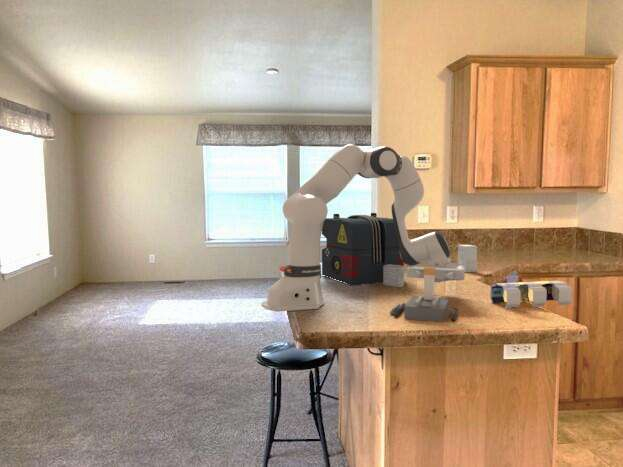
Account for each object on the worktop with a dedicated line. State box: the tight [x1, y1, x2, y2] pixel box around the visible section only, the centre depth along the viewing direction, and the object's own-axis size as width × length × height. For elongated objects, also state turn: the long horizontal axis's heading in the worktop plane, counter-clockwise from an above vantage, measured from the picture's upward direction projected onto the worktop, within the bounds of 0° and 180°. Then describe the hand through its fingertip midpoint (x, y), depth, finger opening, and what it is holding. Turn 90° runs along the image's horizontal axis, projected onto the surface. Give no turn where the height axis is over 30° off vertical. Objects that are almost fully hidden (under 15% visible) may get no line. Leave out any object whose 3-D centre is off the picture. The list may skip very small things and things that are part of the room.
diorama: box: [489, 270, 573, 309], centre depth 172 cm, size 25×10×13 cm, turn 101°
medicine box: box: [383, 264, 405, 288], centre depth 208 cm, size 8×4×9 cm, turn 47°
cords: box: [389, 302, 459, 321], centre depth 159 cm, size 16×21×1 cm
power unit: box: [321, 212, 405, 286], centre depth 225 cm, size 28×28×30 cm
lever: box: [423, 267, 436, 300], centre depth 162 cm, size 3×3×10 cm
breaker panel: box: [403, 294, 450, 323], centre depth 159 cm, size 16×12×5 cm
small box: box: [457, 244, 478, 273], centre depth 245 cm, size 8×6×13 cm
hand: (432, 276), depth 168 cm, fingers open, 8 cm apart
